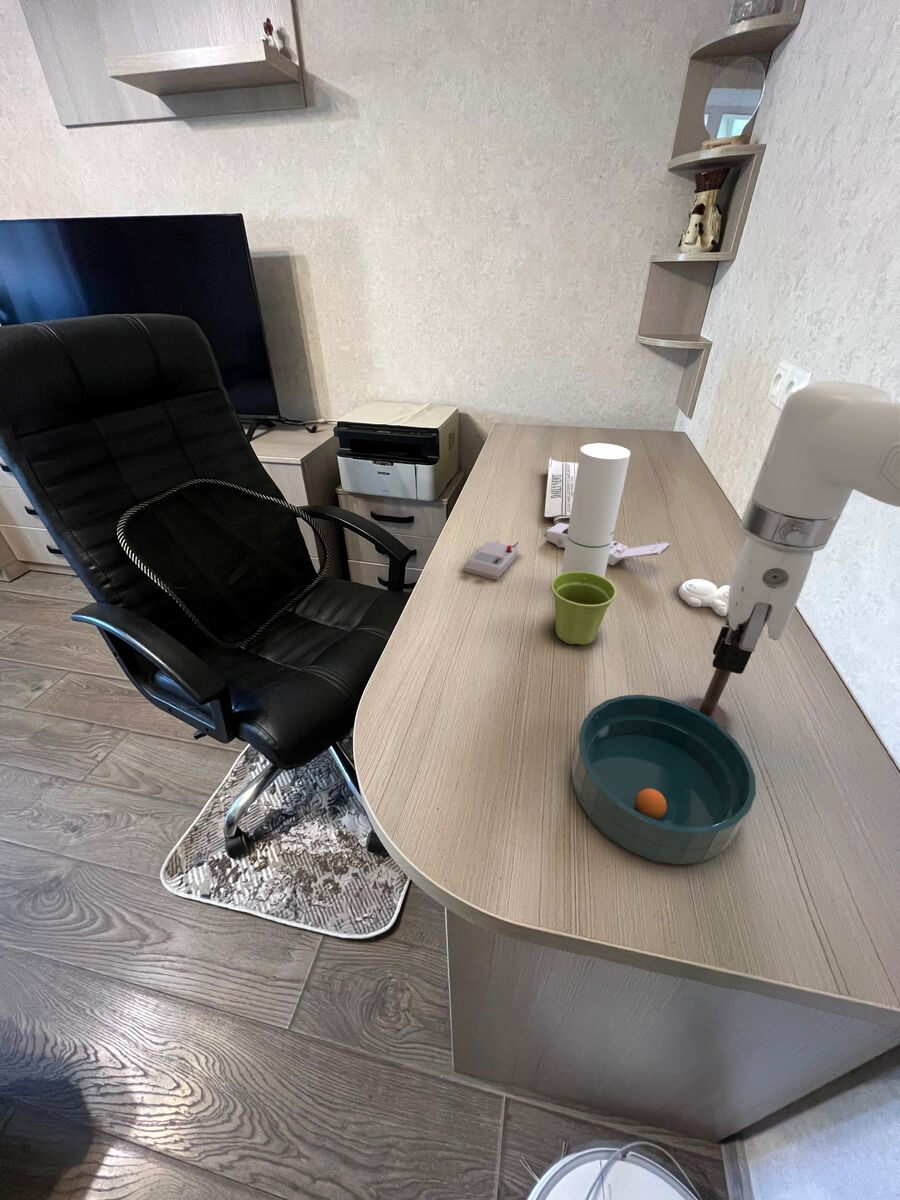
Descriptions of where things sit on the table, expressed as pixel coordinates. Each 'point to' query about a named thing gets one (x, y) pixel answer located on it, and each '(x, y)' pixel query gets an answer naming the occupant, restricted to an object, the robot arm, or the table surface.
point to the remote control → (491, 560)
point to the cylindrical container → (595, 507)
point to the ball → (651, 803)
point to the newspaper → (560, 490)
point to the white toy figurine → (705, 595)
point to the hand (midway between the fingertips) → (727, 662)
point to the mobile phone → (617, 549)
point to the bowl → (662, 778)
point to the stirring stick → (713, 696)
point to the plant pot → (580, 605)
